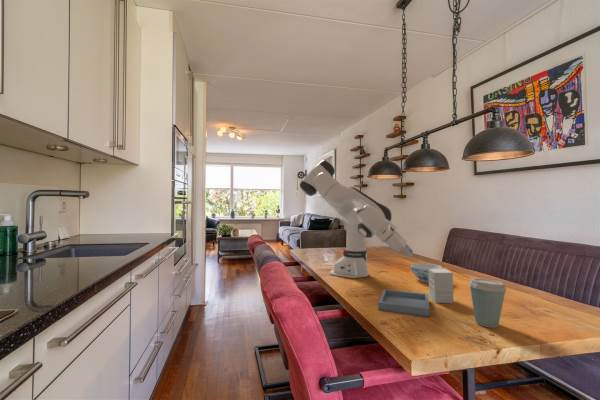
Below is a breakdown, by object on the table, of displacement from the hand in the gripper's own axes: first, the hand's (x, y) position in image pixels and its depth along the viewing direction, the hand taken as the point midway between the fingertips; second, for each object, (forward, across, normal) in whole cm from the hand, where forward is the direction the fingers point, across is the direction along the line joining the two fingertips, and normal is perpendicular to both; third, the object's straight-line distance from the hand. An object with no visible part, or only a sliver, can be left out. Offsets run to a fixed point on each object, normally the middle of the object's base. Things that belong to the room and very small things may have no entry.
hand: (411, 254), depth 122 cm
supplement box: (+21, 0, -6) cm, 22 cm away
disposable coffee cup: (+30, +19, +3) cm, 36 cm away
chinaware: (+18, -30, -10) cm, 37 cm away
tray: (+11, +12, -15) cm, 22 cm away
